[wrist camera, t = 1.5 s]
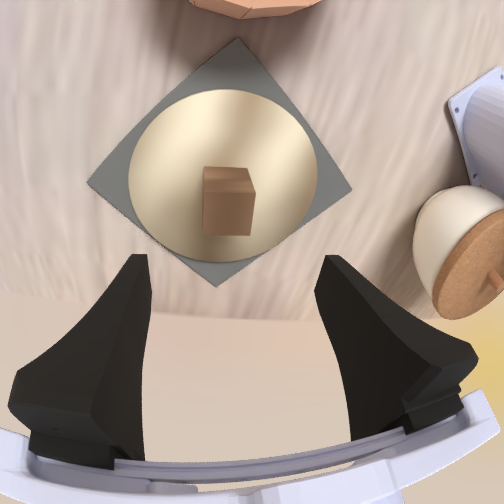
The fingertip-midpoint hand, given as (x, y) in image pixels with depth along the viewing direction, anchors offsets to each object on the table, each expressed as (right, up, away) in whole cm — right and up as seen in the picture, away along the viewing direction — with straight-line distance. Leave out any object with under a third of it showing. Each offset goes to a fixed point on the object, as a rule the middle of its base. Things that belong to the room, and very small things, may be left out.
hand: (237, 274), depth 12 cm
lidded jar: (+18, +4, +12) cm, 22 cm away
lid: (-1, +5, +7) cm, 9 cm away
